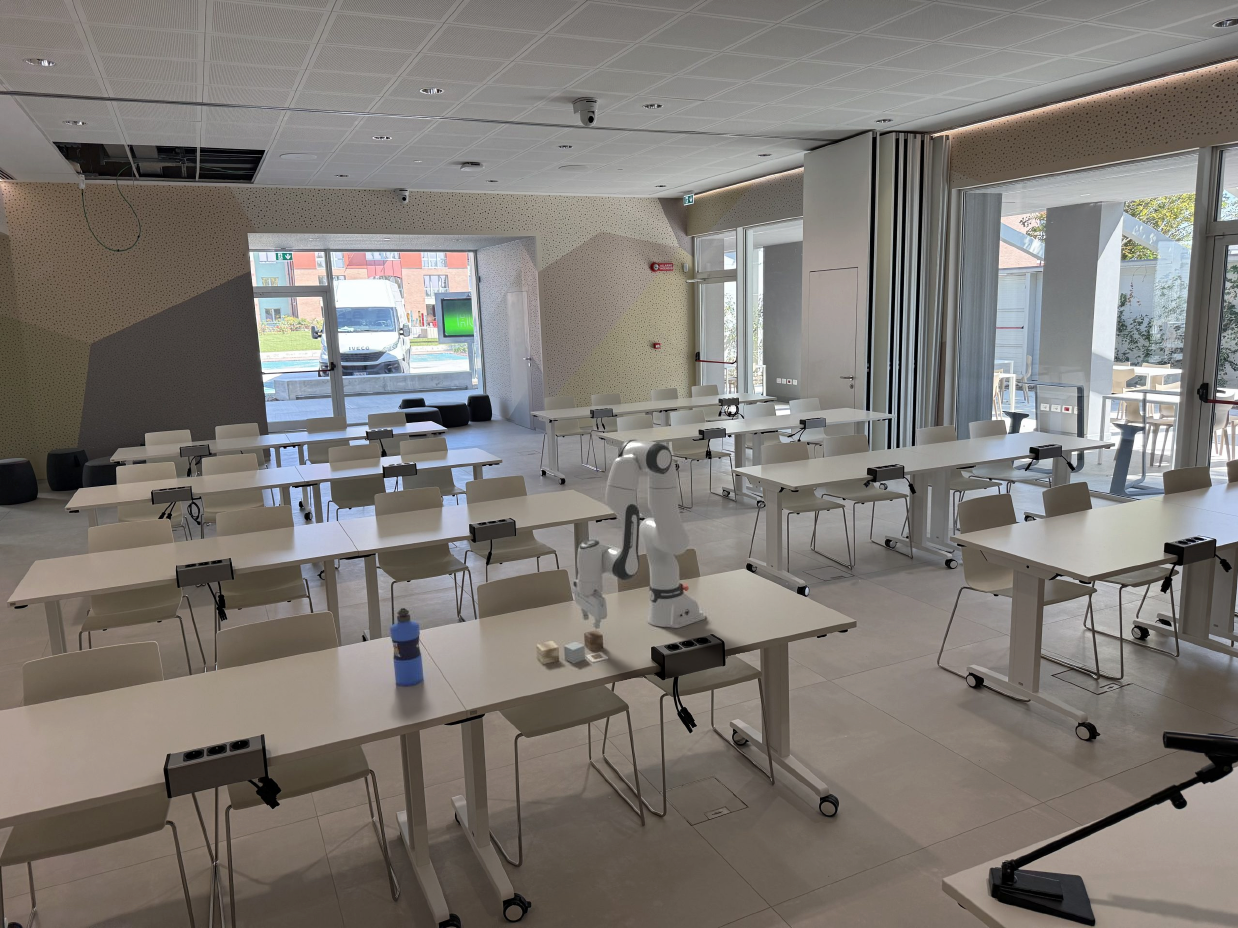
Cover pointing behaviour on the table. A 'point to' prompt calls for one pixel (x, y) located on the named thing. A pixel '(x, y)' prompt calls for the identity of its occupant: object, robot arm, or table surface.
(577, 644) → the grey block
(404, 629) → the water bottle
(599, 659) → the swatch
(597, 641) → the walnut block
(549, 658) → the maple base
